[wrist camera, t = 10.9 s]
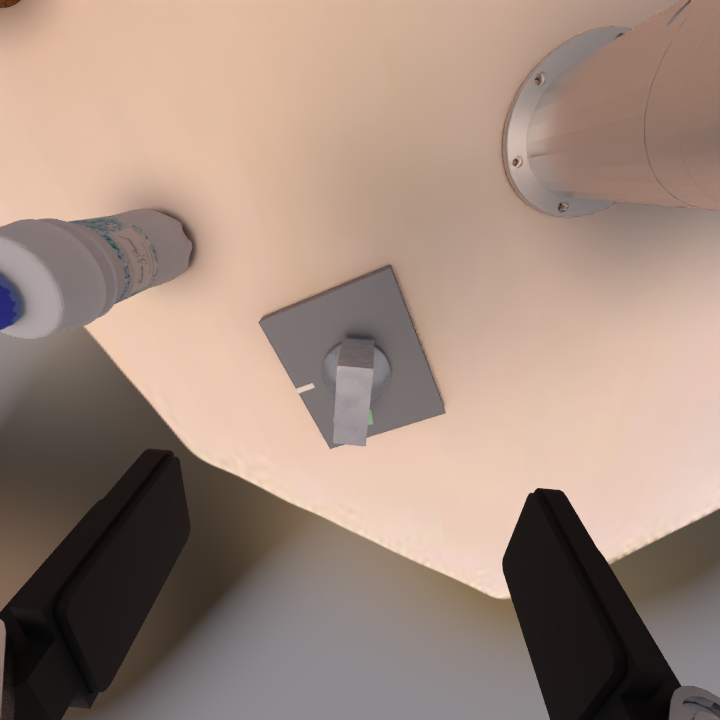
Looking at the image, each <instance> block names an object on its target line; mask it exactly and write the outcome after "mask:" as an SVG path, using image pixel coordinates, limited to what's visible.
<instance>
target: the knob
mask: <svg viewBox="0 0 720 720" xmlns="http://www.w3.org/2000/svg"><path fill="white" fill-rule="evenodd" d="M390 375H391V374H390V364H389V361H388V358H387V357H386V355H385V354H384V352H383V351H382V350H381V349H380V348H379V347H377V346H376V345H374V340H365V339H353V338H343V341H342V342H341V343H339V344H337V345H336V346H334V347H333V348H332V349H331V350H330V351H329V352H328V354H327V355H326V357H325V360H324V363H323V367H322V380H323V383H324V385H325V387H326V389H327V390H328V391H329V393H330V394H331V395H333V396H334V397H335V415H334V435H333V443H336V444H348V445H359V446H366V438H367V428H368V418H369V408H370V402H372V401H374V400H376V399H377V398H379V397H380V396H381V395H382V394H383V393H384V392H385V390H386V389H387V387H388V385H389V382H390Z"/></svg>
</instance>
